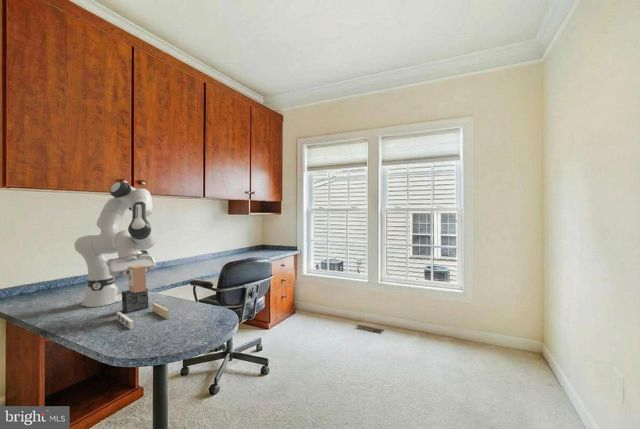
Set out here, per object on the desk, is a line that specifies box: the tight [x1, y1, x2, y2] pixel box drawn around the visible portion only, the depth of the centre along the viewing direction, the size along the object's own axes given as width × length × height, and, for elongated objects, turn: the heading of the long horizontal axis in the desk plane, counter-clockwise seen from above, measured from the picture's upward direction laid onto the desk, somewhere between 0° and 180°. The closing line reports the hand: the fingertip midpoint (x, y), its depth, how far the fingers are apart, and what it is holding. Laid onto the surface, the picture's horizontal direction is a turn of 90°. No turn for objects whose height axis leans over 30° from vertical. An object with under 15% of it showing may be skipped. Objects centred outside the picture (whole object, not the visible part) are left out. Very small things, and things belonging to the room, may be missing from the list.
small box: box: [121, 287, 149, 314], centre depth 152 cm, size 11×6×10 cm, turn 141°
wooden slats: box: [116, 302, 170, 330], centre depth 138 cm, size 20×16×4 cm
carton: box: [127, 265, 147, 293], centre depth 143 cm, size 5×8×12 cm, turn 50°
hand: (137, 278), depth 143 cm, fingers closed on carton, 5 cm apart
